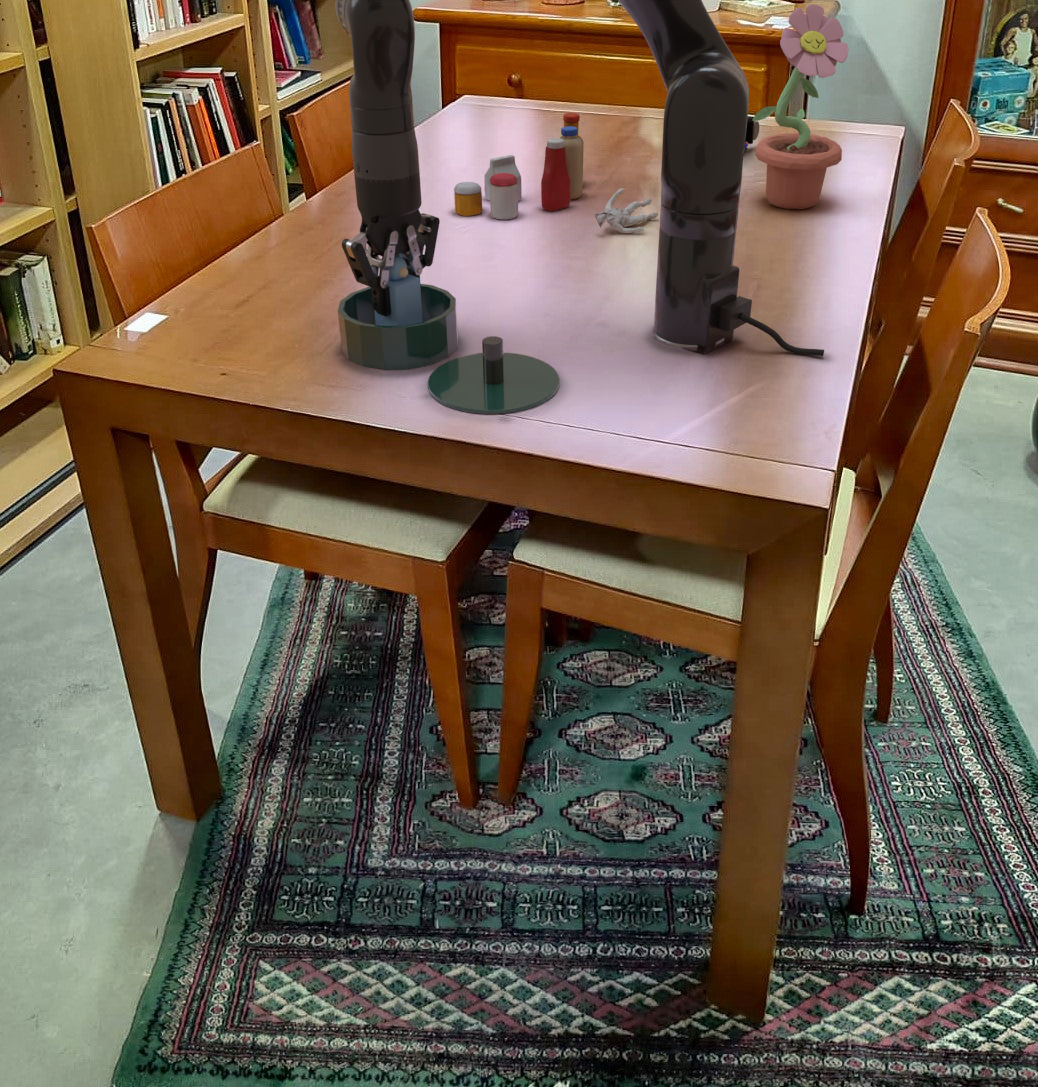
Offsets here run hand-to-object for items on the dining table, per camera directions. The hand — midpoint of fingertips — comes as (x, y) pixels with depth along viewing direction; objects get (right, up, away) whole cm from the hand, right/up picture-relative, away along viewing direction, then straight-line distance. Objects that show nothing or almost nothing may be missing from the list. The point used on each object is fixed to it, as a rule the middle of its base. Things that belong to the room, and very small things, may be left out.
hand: (398, 308), depth 139 cm
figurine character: (+54, +44, +73) cm, 101 cm away
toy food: (+17, +28, +51) cm, 61 cm away
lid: (+12, -10, -7) cm, 17 cm away
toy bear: (0, -4, +3) cm, 5 cm away
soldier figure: (+32, +21, +41) cm, 56 cm away
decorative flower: (+60, +28, +49) cm, 82 cm away
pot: (0, -5, +3) cm, 6 cm away
